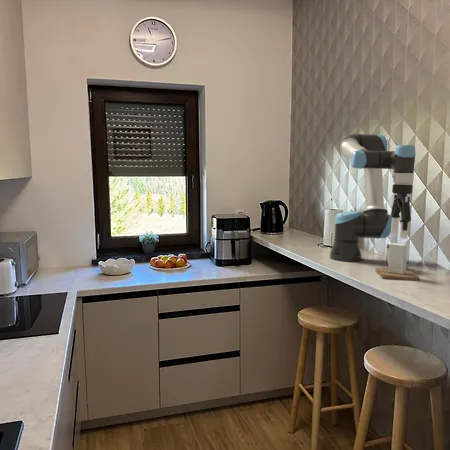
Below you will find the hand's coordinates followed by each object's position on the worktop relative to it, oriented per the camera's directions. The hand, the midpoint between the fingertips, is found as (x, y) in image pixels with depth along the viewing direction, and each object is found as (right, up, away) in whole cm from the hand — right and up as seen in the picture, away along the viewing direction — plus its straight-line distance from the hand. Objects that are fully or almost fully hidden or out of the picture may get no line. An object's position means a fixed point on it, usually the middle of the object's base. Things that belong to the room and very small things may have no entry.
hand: (398, 235), depth 172 cm
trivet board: (0, -17, +2) cm, 17 cm away
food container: (+5, -15, +15) cm, 22 cm away
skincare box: (0, -16, +1) cm, 16 cm away
